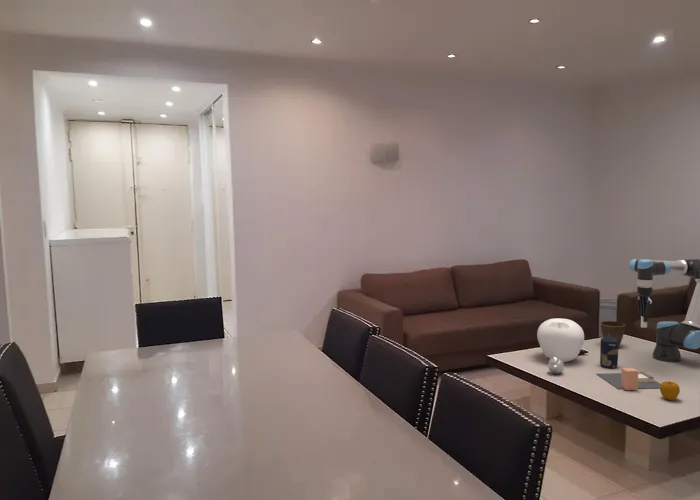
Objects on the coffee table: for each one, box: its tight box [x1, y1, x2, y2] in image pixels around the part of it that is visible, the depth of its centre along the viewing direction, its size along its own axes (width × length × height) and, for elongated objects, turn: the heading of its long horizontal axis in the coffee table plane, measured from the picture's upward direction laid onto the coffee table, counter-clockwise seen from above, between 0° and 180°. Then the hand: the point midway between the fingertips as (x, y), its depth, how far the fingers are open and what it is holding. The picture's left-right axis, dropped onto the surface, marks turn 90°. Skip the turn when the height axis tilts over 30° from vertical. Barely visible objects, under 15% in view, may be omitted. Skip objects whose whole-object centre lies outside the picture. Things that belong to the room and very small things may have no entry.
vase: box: [536, 317, 585, 363], centre depth 323 cm, size 28×27×25 cm
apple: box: [659, 380, 681, 401], centre depth 259 cm, size 9×8×9 cm
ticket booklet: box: [638, 371, 655, 383], centre depth 285 cm, size 14×9×3 cm, turn 91°
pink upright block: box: [621, 367, 639, 391], centre depth 273 cm, size 6×5×10 cm
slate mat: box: [596, 372, 661, 390], centre depth 285 cm, size 26×24×1 cm
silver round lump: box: [547, 357, 566, 375], centre depth 299 cm, size 9×10×10 cm
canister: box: [599, 337, 619, 369], centre depth 309 cm, size 10×10×18 cm
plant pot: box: [600, 320, 626, 348], centre depth 349 cm, size 15×15×16 cm
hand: (643, 327), depth 298 cm, fingers closed
